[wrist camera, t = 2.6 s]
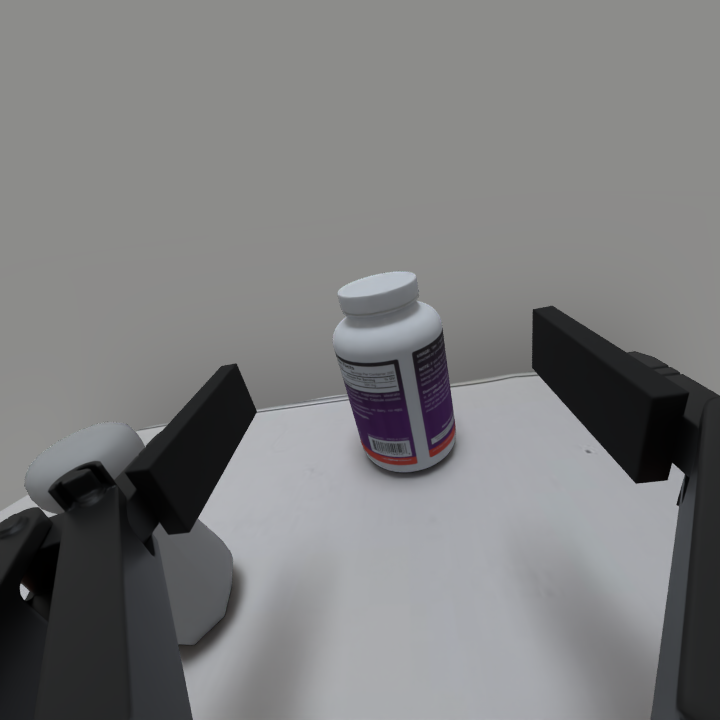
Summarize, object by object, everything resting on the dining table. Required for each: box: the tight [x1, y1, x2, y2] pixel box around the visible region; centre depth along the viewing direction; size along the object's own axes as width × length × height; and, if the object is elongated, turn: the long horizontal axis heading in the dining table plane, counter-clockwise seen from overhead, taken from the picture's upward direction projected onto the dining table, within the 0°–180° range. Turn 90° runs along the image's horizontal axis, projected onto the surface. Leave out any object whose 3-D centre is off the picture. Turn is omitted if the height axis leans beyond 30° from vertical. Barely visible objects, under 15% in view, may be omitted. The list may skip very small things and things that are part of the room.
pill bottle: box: [333, 271, 456, 472], centre depth 26 cm, size 8×8×14 cm
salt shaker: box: [24, 422, 233, 645], centre depth 17 cm, size 6×6×13 cm
